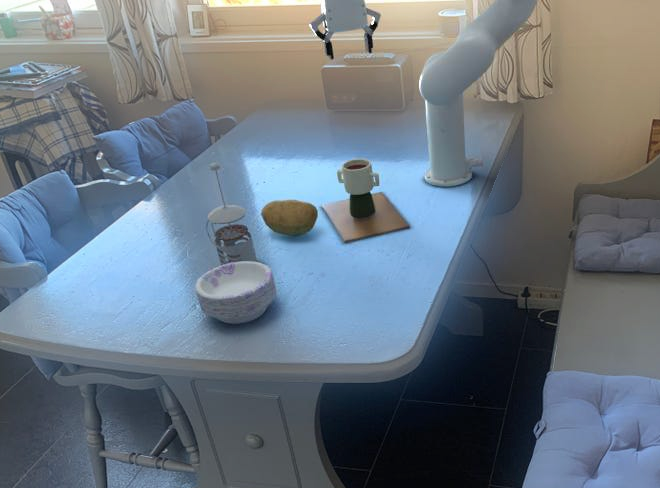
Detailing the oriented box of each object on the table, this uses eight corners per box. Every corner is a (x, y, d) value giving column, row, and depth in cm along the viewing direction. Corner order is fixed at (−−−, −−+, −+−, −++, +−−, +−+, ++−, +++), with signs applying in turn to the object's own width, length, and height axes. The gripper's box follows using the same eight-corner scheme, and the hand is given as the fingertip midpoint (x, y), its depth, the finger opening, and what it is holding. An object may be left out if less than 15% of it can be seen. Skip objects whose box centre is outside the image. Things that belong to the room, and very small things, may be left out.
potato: (276, 221, 187) (270, 191, 182) (327, 227, 183) (322, 196, 178) (256, 239, 180) (249, 208, 175) (309, 245, 176) (303, 214, 171)
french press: (242, 286, 163) (213, 175, 148) (203, 274, 168) (172, 167, 153) (272, 265, 169) (248, 157, 154) (234, 255, 174) (207, 150, 160)
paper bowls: (232, 287, 162) (223, 255, 158) (293, 298, 157) (286, 264, 152) (188, 326, 151) (178, 292, 147) (253, 338, 146) (244, 303, 141)
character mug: (389, 210, 186) (383, 160, 179) (377, 223, 181) (370, 172, 173) (349, 206, 190) (342, 156, 182) (336, 219, 185) (328, 168, 177)
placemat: (381, 193, 196) (381, 191, 196) (409, 228, 179) (409, 225, 179) (322, 207, 192) (321, 204, 192) (345, 243, 175) (344, 240, 175)
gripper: (371, -30, 180) (379, 46, 190) (300, -20, 176) (312, 57, 186) (380, -25, 174) (388, 52, 185) (307, -15, 170) (319, 64, 180)
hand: (350, 55), depth 185 cm, fingers open, 9 cm apart
